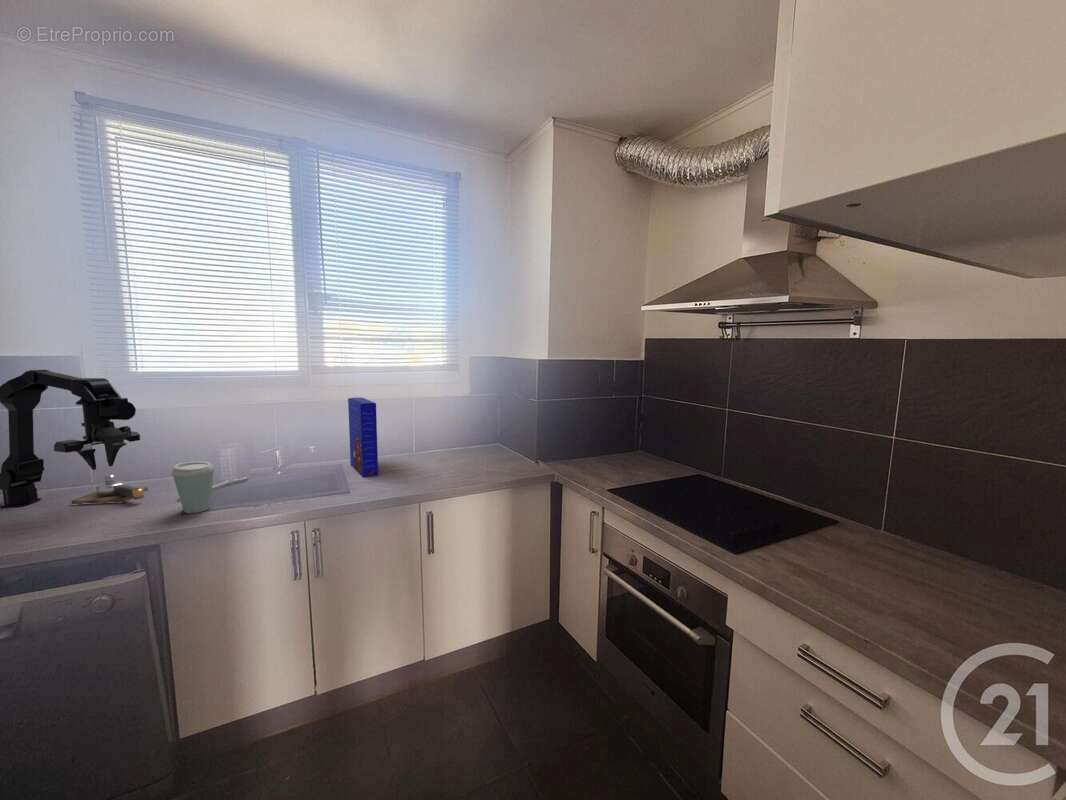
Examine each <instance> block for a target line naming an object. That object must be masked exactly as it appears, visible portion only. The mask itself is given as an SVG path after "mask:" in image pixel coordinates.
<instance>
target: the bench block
mask: <svg viewBox="0 0 1066 800" xmlns="http://www.w3.org/2000/svg"><path fill="white" fill-rule="evenodd" d="M136 488H143V492H145V491H147V492H149V487H148V486H142V487H141V486H140V487H136ZM145 493H146V492H145ZM128 499H130V498H129V497H124V496H120V495H115V494H114V495H108V496H97V494H96V490H95V491H93V492H91V493H88V494H85V495H83V496H79V497H78V498H75V499H73V500H71V505H72V504H83V503H108V502H124V501H126V500H128ZM130 500H131V499H130ZM128 501H129V500H128ZM126 502H127V501H126ZM124 503H125V502H124Z"/></svg>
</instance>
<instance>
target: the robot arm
mask: <svg viewBox="0 0 1066 800" xmlns="http://www.w3.org/2000/svg"><path fill="white" fill-rule="evenodd" d="M49 387H52V388H56V389H60V390H66V391H69V392H70V393H71V394H72V395H74V396H76V397H78V398H80V399H78V400H76V402H75V405H76V406H77V405H78V406H82V407H81V408H82V415H83V417H82V418H83V422H81V427H84V431H85V432H84V433H85V435H83V436H82V439H83V440H79V439H78V440H76V439H66V440H59V441H56V442H55V443H54V445H53V450H54V452H57V453H66V454H67V453H73V452H74V453H77V454H78V455H80V456H81V457H82V459H83V460H84V461H85V462H86V464H87V465H88V466H89V467H90V469H91V470H92V471H96V470H97V461H96V456H95V453H96V450H97V449H96V448H93V446H97V445H102V444H103V445H104V449H105V450H104V451H105V456H106V457H105V458H106V461H107V465H108V466H109V467H113V466H114V463H115V460H116V458H117V455H118V453H119V451H120V450H121V449H122V447H124V446H127V444H128V443H125V440H126V441H128V442H129V443H132V442H136V441H137V442H138V441H141V435H140V433H139V432H138V431H132V430H131V426H129V425H125V426H119V427H116V426H115V422H114V421H112V420H115V421H122V420H123V421H128V420H129V421H130V420H131V419H132V418H134V417H135V416H136V411H137V409H136V407H135V405H134V404H133V403H132V402H129V401H128V398H127V397H122V396H121V395H120V393H119V392H118V391H117V390H116V389H115V388H114V386H113V385H112V384H111V382H110V380H108V379H107V378H104V377H77V376H74V375H73V376H72V375H67V374H63V373H58V372H54V371H51V370H48V369H32V370H31V369H30V370H26V371H24V373H22V374H21V375H19V376H16V377H14V378H12V379H9V380H7V381H6V382H5V383H3V384H1V385H0V404H2V406H4V408H5V409H6V410H7V413H8V414H7V415H8V441H9V442H8V443H9V445H8V447H9V455H8V456H7V457H6V458H5V460H4V461H3V462H2V463H1V469H0V490H2V496H3V504H0V508H14V507H15V506H17V507H25V506H28V505H30V504H32V502H33V503H35V501H36V502H38V500H39V501H41V500H42V497H39V496H38V489H37V487H36V485H35V483H39V482H41V480H42V476H43V473H44V471H45V467H44V463H45V460H44V458H40V457H38V456H37V455H36V454H35V447H34V446H35V445H34V444H35V443H34V442H35V440H34V437H35V436H34V410H35V408H36V407H37V406H38V405H39V404H40V403H41V400H42V394H43V393H44V392H45V391H46V390H48V389H49ZM40 499H41V500H40ZM27 504H28V505H27ZM24 505H25V506H24Z"/></svg>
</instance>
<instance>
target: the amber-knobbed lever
mask: <svg viewBox="0 0 1066 800" xmlns="http://www.w3.org/2000/svg"><path fill="white" fill-rule="evenodd" d="M95 491H96V494H97V496H108V495H114V494H115V495H120V496H124V497H129V498H132V499H133V500H140V499H144V498H145V493H143V488H136V487H135V486H130V485H127V484H126V482H125V481H124V480H116V476H115V474H114V473H112V474H106V475H104V482H101V483H98V484H96V485H95Z"/></svg>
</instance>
